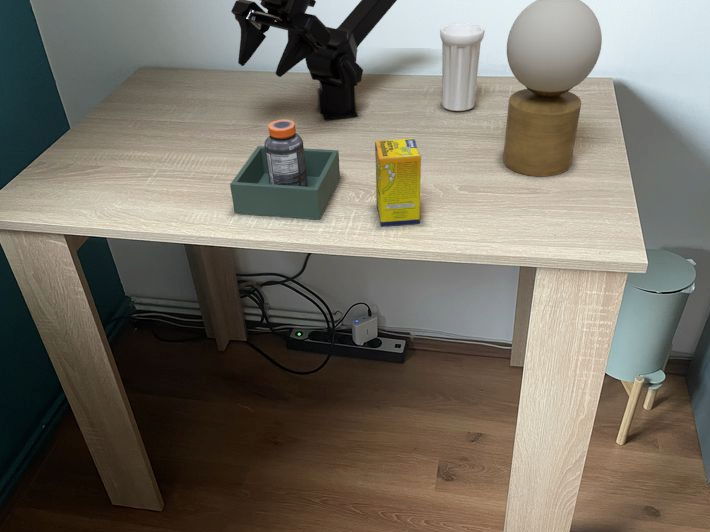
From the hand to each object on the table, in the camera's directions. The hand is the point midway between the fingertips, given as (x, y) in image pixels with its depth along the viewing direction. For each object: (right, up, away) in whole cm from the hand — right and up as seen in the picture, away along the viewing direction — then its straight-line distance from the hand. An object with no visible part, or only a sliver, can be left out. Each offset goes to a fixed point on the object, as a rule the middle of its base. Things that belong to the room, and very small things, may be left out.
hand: (258, 70), depth 122 cm
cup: (+36, 0, +19) cm, 41 cm away
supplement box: (+23, -27, -12) cm, 37 cm away
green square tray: (+6, -22, -6) cm, 24 cm away
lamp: (+47, -14, +1) cm, 49 cm away
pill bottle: (+6, -22, -6) cm, 24 cm away
